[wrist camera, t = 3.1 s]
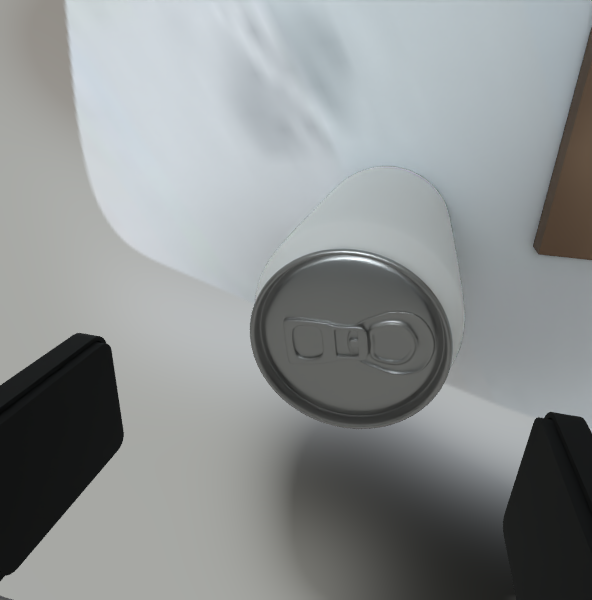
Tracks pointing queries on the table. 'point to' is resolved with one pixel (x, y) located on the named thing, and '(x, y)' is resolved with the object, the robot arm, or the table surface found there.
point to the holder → (571, 179)
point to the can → (362, 303)
